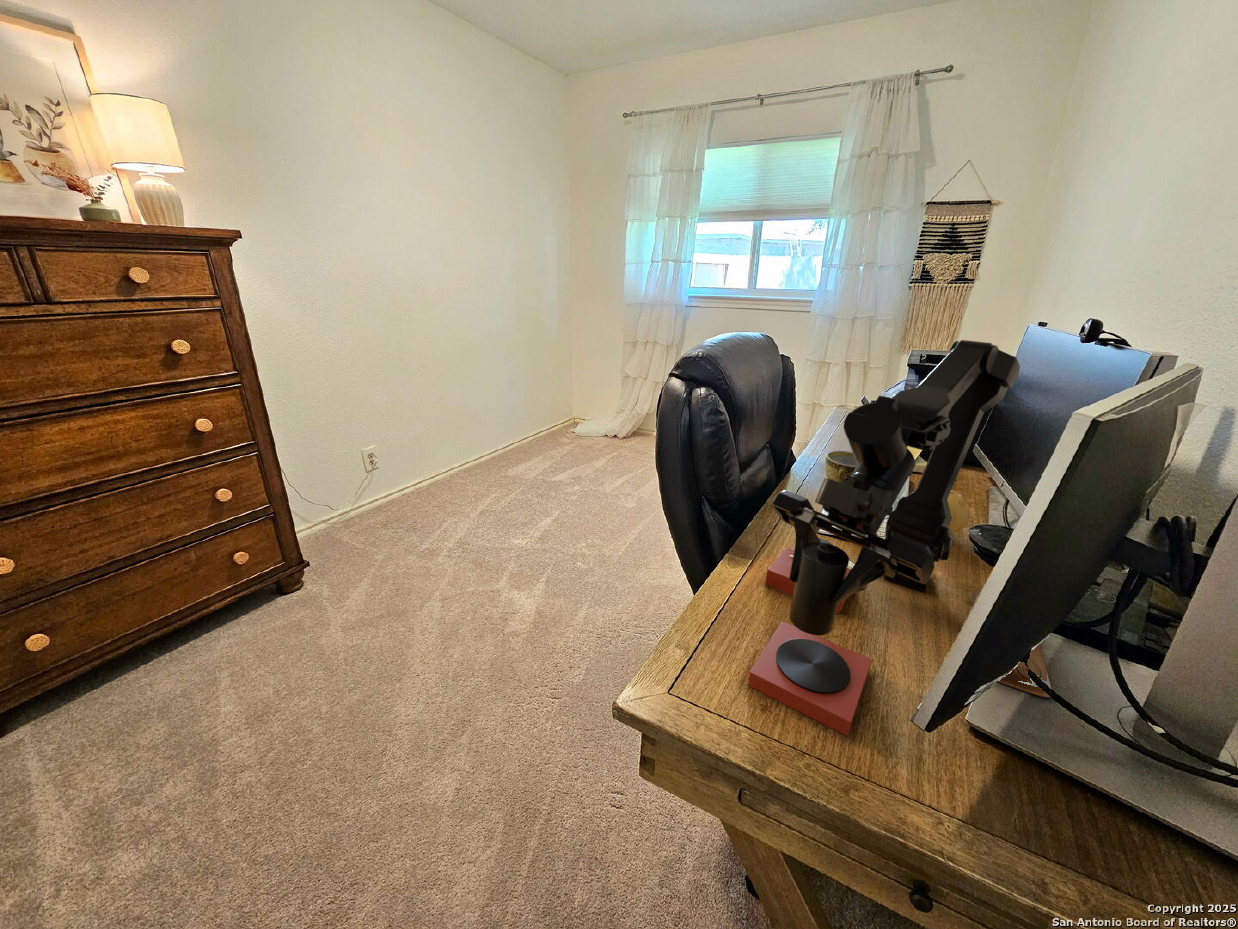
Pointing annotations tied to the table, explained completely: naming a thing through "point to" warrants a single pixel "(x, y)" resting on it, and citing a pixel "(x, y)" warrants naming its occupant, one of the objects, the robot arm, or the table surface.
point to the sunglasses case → (1025, 670)
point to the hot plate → (811, 676)
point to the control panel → (786, 574)
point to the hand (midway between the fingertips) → (811, 592)
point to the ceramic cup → (840, 465)
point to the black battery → (817, 587)
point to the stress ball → (957, 512)
